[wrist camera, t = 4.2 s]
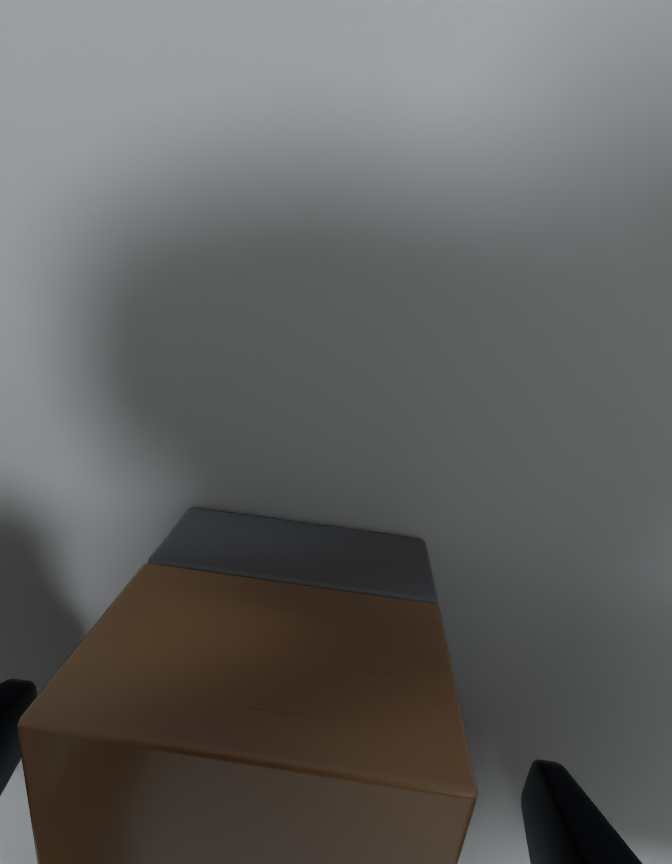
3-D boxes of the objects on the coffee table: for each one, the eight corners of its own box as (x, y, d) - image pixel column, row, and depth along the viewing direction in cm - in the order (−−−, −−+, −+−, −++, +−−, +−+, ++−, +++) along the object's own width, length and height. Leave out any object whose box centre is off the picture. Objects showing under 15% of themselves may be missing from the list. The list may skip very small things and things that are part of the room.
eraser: (426, 537, 8) (482, 796, 4) (369, 821, 10) (368, 1164, 6) (188, 505, 8) (10, 721, 4) (186, 792, 10) (72, 1107, 6)
